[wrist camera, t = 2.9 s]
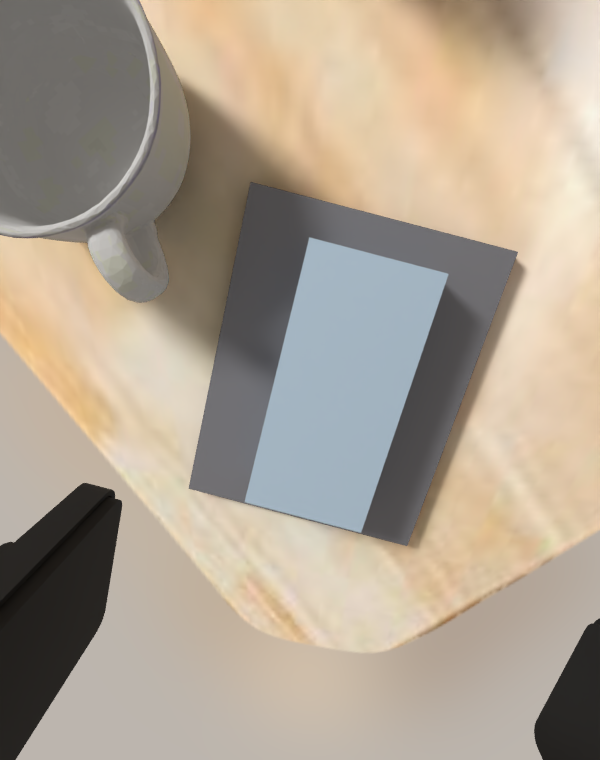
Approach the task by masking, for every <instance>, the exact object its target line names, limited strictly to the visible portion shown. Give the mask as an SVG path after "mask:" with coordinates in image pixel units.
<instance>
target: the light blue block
mask: <svg viewBox="0 0 600 760" xmlns="http://www.w3.org/2000/svg"><path fill="white" fill-rule="evenodd" d="M447 277H448V274H447V273H444V272H440V271H436V270H432V269H428V268H424V267H421V266H417V265H413V264H409V263H405V262H402V261H398V260H394V259H390V258H386V257H383V256H379V255H375V254H371V253H367V252H363V251H360V250H356V249H352V248H348V247H344V246H341V245H337V244H333V243H329V242H325V241H322V240H318V239H314V238H310V237H309V241H308V245H307V249H306V253H305V257H304V262H303V266H302V270H301V274H300V278H299V282H298V286H297V290H296V294H295V298H294V302H293V306H292V311H291V315H290V319H289V323H288V327H287V331H286V335H285V339H284V343H283V347H282V351H281V355H280V359H279V364H278V368H277V372H276V376H275V380H274V384H273V388H272V392H271V396H270V400H269V404H268V408H267V412H266V417H265V421H264V425H263V429H262V433H261V437H260V441H259V445H258V449H257V453H256V457H255V461H254V466H253V470H252V474H251V478H250V482H249V486H248V490H247V494H246V498H245V502H246V503H249V504H253V505H257V506H261V507H265V508H268V509H272V510H276V511H280V512H284V513H287V514H291V515H295V516H299V517H303V518H306V519H310V520H314V521H318V522H322V523H325V524H329V525H333V526H337V527H341V528H344V529H348V530H352V531H356V532H359V533H361V531H362V528H363V525H364V522H365V520H366V517H367V514H368V511H369V508H370V505H371V502H372V499H373V496H374V493H375V490H376V487H377V484H378V481H379V478H380V475H381V472H382V469H383V466H384V463H385V460H386V458H387V455H388V452H389V449H390V446H391V443H392V440H393V437H394V434H395V431H396V428H397V425H398V422H399V419H400V416H401V413H402V410H403V407H404V404H405V401H406V398H407V395H408V393H409V390H410V387H411V384H412V381H413V378H414V375H415V372H416V369H417V366H418V363H419V360H420V357H421V354H422V351H423V348H424V345H425V342H426V339H427V336H428V333H429V331H430V328H431V325H432V322H433V319H434V316H435V313H436V310H437V307H438V304H439V301H440V298H441V295H442V292H443V289H444V286H445V283H446V280H447Z"/></svg>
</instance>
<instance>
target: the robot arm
mask: <svg viewBox="0 0 600 760" xmlns="http://www.w3.org/2000/svg"><path fill="white" fill-rule="evenodd" d="M121 510H122V501H121V500H118V499H115V492H114V491H113V490H111V489H107V488H103V487H99V486H95V485H91V484H88V483H83V484H81V485H80V486H78V487H77V488H76V489H75V490H74V491H73V492H72V493H70V494H69V495H68V496H67V497H66V498H65V499H64V500H63V501H61V502H60V503H59V504H58V505H57V506H56V507H54V508H53V509H52V510H51V511H50V512H49V513H48V514H46V515H45V516H44V517H43V518H42V519H41V520H40V521H39V522H37V523H36V524H35V525H34V526H33V527H32V528H31V529H29V530H28V531H27V532H26V533H25V534H24V535H22V536H21V537H20V538H19V539H18V540H17V541H16V542H14V543H13V542H8V543H5V544H3V545H1V546H0V760H16V758H17V756H18V755H19V753H20V752H21V750H22V748H23V747H24V745H25V744H26V742H27V741H28V739H29V737H30V736H31V734H32V733H33V731H34V730H35V728H36V727H37V725H38V723H39V722H40V720H41V719H42V717H43V716H44V714H45V712H46V711H47V709H48V708H49V706H50V704H51V703H52V701H53V700H54V698H55V697H56V695H57V693H58V692H59V690H60V689H61V687H62V686H63V684H64V682H65V681H66V679H67V678H68V676H69V674H70V673H71V671H72V670H73V668H74V667H75V665H76V664H77V662H78V660H79V659H80V657H81V655H82V654H83V653H84V651H85V649H86V648H87V646H88V645H89V643H90V641H91V640H92V638H93V637H94V635H95V634H96V632H97V630H98V628H99V626H100V624H101V622H102V619H103V616H104V613H105V608H106V602H107V596H108V590H109V584H110V578H111V572H112V565H113V559H114V552H115V547H116V541H117V534H118V528H119V522H120V516H121ZM534 733H535V741H536V744H537V747H538V749H539V752H540V754H541V756H542V759H543V760H600V619H598V620H596V621H595V622H594V624H590V625H588V626H587V628H586V629H585V631H584V633H583V635H582V636H581V638H580V640H579V642H578V644H577V646H576V648H575V649H574V652H573V653H572V655H571V657H570V659H569V661H568V663H567V664H566V666H565V668H564V670H563V672H562V674H561V676H560V678H559V679H558V682H557V683H556V685H555V687H554V689H553V691H552V693H551V694H550V696H549V698H548V700H547V702H546V704H545V706H544V708H543V709H542V711H541V713H540V715H539V717H538V719H537V721H536V723H535V729H534Z"/></svg>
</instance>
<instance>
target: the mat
mask: <svg viewBox="0 0 600 760" xmlns="http://www.w3.org/2000/svg"><path fill="white" fill-rule="evenodd" d="M309 237H310V238H314V239H318V240H322V241H325V242H329V243H333V244H337V245H341V246H344V247H348V248H352V249H356V250H360V251H363V252H367V253H371V254H375V255H379V256H383V257H386V258H390V259H394V260H398V261H402V262H405V263H409V264H413V265H417V266H421V267H424V268H428V269H432V270H436V271H440V272H444V273H447V274H448V277H447V280H446V283H445V286H444V289H443V292H442V295H441V298H440V301H439V304H438V307H437V310H436V313H435V316H434V319H433V322H432V325H431V328H430V331H429V333H428V336H427V339H426V342H425V345H424V348H423V351H422V354H421V357H420V360H419V363H418V366H417V369H416V372H415V375H414V378H413V381H412V384H411V387H410V390H409V393H408V395H407V398H406V401H405V404H404V407H403V410H402V413H401V416H400V419H399V422H398V425H397V428H396V431H395V434H394V437H393V440H392V443H391V446H390V449H389V452H388V455H387V458H386V460H385V463H384V466H383V469H382V472H381V475H380V478H379V481H378V484H377V487H376V490H375V493H374V496H373V499H372V502H371V505H370V508H369V511H368V514H367V517H366V520H365V522H364V525H363V528H362V531H361V533H360V534H363V535H367V536H371V537H375V538H379V539H382V540H386V541H390V542H394V543H398V544H401V545H405V546H407V545H408V542H409V540H410V537H411V534H412V532H413V529H414V526H415V524H416V521H417V519H418V516H419V513H420V511H421V508H422V505H423V503H424V500H425V497H426V495H427V492H428V489H429V487H430V484H431V481H432V479H433V476H434V473H435V471H436V468H437V465H438V463H439V460H440V458H441V455H442V452H443V450H444V447H445V444H446V442H447V439H448V436H449V434H450V431H451V428H452V426H453V423H454V420H455V418H456V415H457V412H458V410H459V407H460V405H461V402H462V399H463V397H464V394H465V391H466V389H467V386H468V383H469V381H470V378H471V375H472V373H473V370H474V367H475V365H476V362H477V359H478V357H479V354H480V351H481V349H482V346H483V344H484V341H485V338H486V336H487V333H488V330H489V328H490V325H491V322H492V320H493V317H494V314H495V312H496V309H497V306H498V304H499V301H500V298H501V296H502V293H503V290H504V288H505V285H506V283H507V280H508V277H509V275H510V272H511V269H512V267H513V264H514V261H515V259H516V256H517V253H518V252H516V251H512V250H508V249H505V248H501V247H497V246H493V245H489V244H486V243H482V242H478V241H474V240H470V239H467V238H463V237H459V236H455V235H451V234H447V233H444V232H440V231H436V230H432V229H428V228H425V227H421V226H417V225H413V224H409V223H406V222H402V221H398V220H394V219H390V218H386V217H383V216H379V215H375V214H371V213H367V212H364V211H360V210H356V209H352V208H348V207H344V206H341V205H337V204H333V203H329V202H325V201H322V200H318V199H314V198H310V197H306V196H303V195H299V194H295V193H291V192H287V191H283V190H280V189H276V188H272V187H268V186H264V185H261V184H257V183H253V182H251V183H250V188H249V193H248V198H247V202H246V207H245V212H244V217H243V222H242V227H241V232H240V237H239V242H238V247H237V252H236V257H235V262H234V267H233V272H232V277H231V282H230V287H229V292H228V296H227V301H226V306H225V311H224V316H223V321H222V326H221V331H220V336H219V341H218V346H217V351H216V356H215V361H214V366H213V371H212V376H211V381H210V386H209V391H208V395H207V400H206V405H205V410H204V415H203V420H202V425H201V430H200V435H199V440H198V445H197V450H196V455H195V460H194V465H193V470H192V475H191V480H190V485H189V489H193V490H196V491H200V492H204V493H208V494H212V495H215V496H219V497H223V498H227V499H231V500H234V501H238V502H242V503H246V502H245V498H246V494H247V490H248V486H249V482H250V478H251V474H252V470H253V466H254V461H255V457H256V453H257V449H258V445H259V441H260V437H261V433H262V429H263V425H264V421H265V417H266V412H267V408H268V404H269V400H270V396H271V392H272V388H273V384H274V380H275V376H276V372H277V368H278V364H279V359H280V355H281V351H282V347H283V343H284V339H285V335H286V331H287V327H288V323H289V319H290V315H291V311H292V306H293V302H294V298H295V294H296V290H297V286H298V282H299V278H300V274H301V270H302V266H303V262H304V257H305V253H306V249H307V245H308V241H309ZM246 504H249V503H246ZM250 505H253V504H250ZM253 506H257V505H253ZM257 507H261V506H257ZM261 508H265V507H261ZM265 509H268V508H265ZM268 510H272V509H268ZM272 511H276V510H272ZM276 512H280V511H276ZM280 513H284V512H280ZM284 514H287V513H284ZM287 515H291V514H287ZM291 516H295V515H291ZM295 517H299V516H295ZM299 518H303V517H299ZM303 519H306V518H303ZM306 520H310V519H306ZM310 521H314V520H310ZM314 522H318V521H314ZM318 523H322V522H318ZM322 524H325V523H322ZM325 525H329V524H325ZM329 526H333V525H329ZM333 527H337V526H333ZM337 528H341V527H337ZM341 529H344V528H341ZM344 530H348V529H344ZM348 531H352V530H348ZM352 532H356V531H352ZM356 533H359V532H356Z"/></svg>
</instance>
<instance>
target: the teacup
mask: <svg viewBox="0 0 600 760" xmlns="http://www.w3.org/2000/svg"><path fill="white" fill-rule="evenodd" d="M190 141H191V133H190V121H189V113H188V108H187V103H186V99H185V96H184V93H183V89H182V86H181V84H180V81H179V78H178V76H177V74H176V71H175V69H174V67H173V65H172V63H171V61H170V59H169V57H168V55H167V53H166V51H165V49H164V48H163V46H162V44H161V42H160V40H159V38H158V37H157V35H156V33H155V31H154V30H153V28H152V26H151V24H150V23H149V21H148V19H147V17H146V15H145V12H144V10H143V8H142V5H141V3H140V1H139V0H0V235H3V236H8V237H13V238H44V239H51V240H59V241H67V242H85V243H88V248H89V251H90V253H91V256H92V259H93V261H94V263H95V264H96V266H97V268H98V270H99V272H100V273H101V274H102V276H103V277H104V278H105V280H106V281H107V282H108V283H109V284H110V286H111V287H112V288H113V289H114V290H115V291H116V292H118V293H119V294H120V295H122V296H123V297H125V298H126V299H127V300H131V301H134V302H139V303H142V302H147V301H150V300H153V299H154V298H156V297H157V296H159V295H160V294H162V293H163V292H164V290H165V289H166V288H167V285H168V282H169V273H168V268H167V264H166V260H165V257H164V254H163V251H162V248H161V245H160V242H159V240H158V237H157V228H156V225H155V223H154V221H155V219H156V218H157V217H158V216H159V215H160V214H161V213H162V212H163V211H164V210H165V209H166V208H167V207H168V205H169V204H170V202H171V201H172V200H173V198H174V197H175V195H176V193H177V192H178V190H179V188H180V186H181V184H182V181H183V178H184V175H185V172H186V168H187V164H188V161H189V153H190Z"/></svg>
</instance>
